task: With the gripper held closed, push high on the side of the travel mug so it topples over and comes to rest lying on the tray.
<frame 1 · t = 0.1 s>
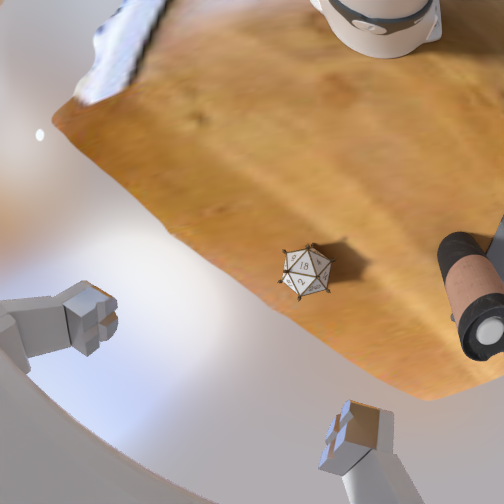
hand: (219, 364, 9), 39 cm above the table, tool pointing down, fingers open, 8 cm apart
travel mug: (457, 252, 40), on the table
game die: (311, 259, 50), on the table
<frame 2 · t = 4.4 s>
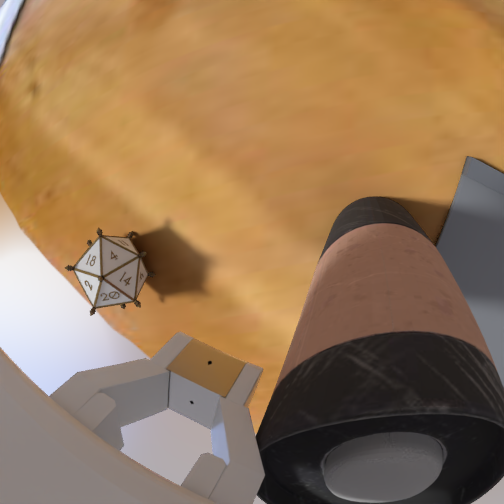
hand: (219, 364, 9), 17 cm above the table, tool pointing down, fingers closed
travel mug: (374, 239, 23), on the table, touching gripper
game die: (136, 256, 32), on the table
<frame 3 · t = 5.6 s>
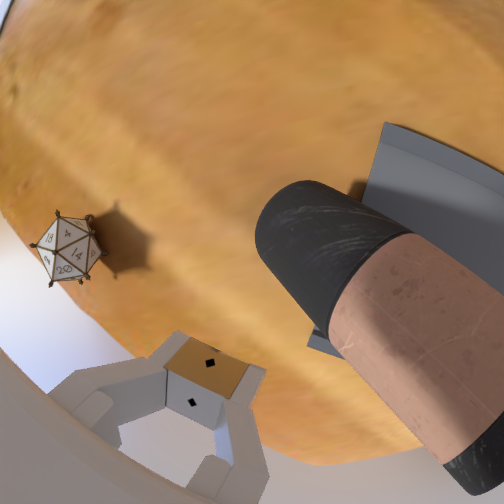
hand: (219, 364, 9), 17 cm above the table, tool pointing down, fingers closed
tray: (447, 282, 22), on the table
travel mug: (296, 225, 22), point 2 cm above the table
game die: (93, 237, 34), on the table
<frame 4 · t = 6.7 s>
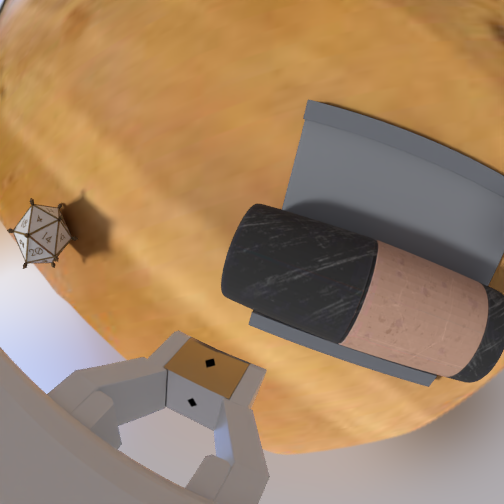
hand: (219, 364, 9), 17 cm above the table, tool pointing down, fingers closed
tray: (389, 260, 23), on the table
travel mug: (240, 249, 22), point 4 cm above the table, touching tray
game die: (66, 224, 35), on the table
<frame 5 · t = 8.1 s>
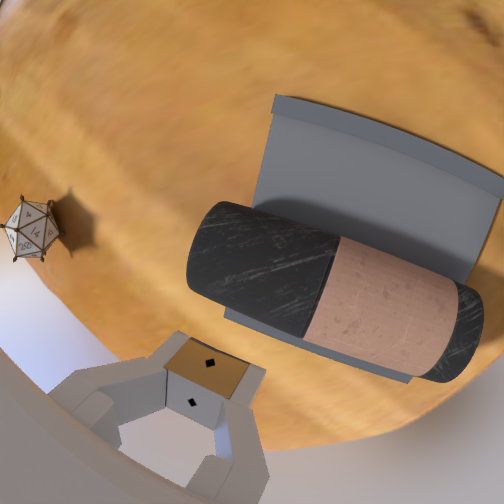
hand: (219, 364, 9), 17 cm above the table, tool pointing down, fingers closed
tray: (360, 253, 24), on the table
travel mug: (208, 245, 23), point 4 cm above the table, touching tray
game die: (55, 220, 36), on the table
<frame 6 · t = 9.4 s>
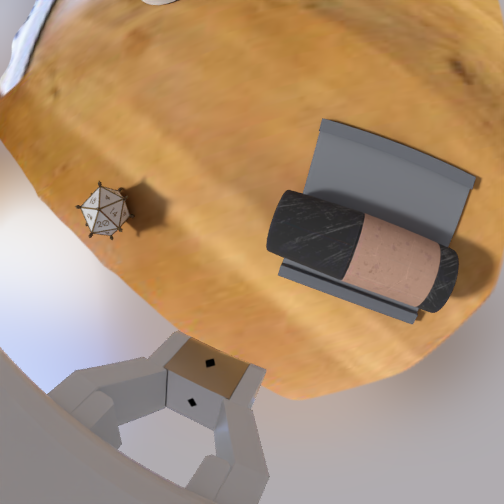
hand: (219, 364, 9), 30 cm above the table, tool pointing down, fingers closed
tray: (376, 225, 34), on the table
travel mug: (276, 219, 34), point 4 cm above the table, touching tray
game die: (123, 205, 47), on the table
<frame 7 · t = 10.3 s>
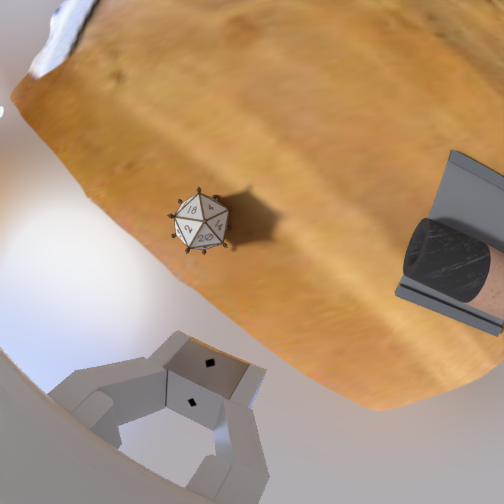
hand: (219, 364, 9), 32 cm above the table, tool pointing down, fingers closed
tray: (482, 251, 32), on the table
travel mug: (414, 246, 31), point 4 cm above the table, touching tray
game die: (215, 215, 44), on the table
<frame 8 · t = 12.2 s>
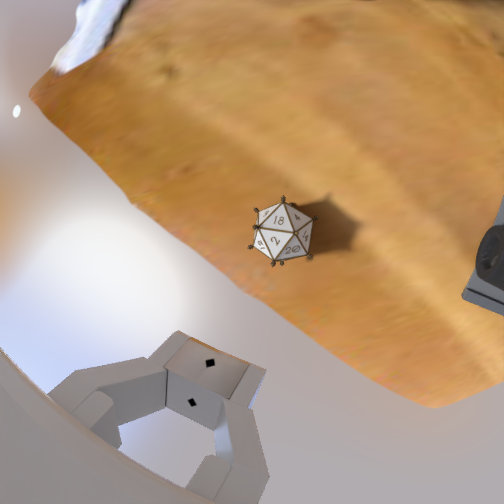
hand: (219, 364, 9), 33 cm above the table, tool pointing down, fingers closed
travel mug: (488, 251, 29), point 4 cm above the table, touching tray
game die: (290, 224, 42), on the table
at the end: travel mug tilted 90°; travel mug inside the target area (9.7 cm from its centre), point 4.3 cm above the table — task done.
